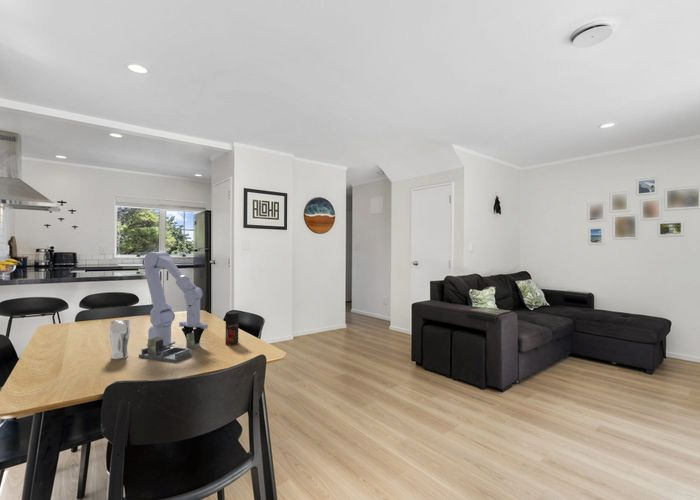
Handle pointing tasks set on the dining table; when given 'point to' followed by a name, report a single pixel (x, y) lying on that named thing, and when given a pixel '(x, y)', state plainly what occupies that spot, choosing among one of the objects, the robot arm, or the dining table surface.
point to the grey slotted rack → (164, 351)
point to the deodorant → (232, 328)
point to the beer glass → (119, 338)
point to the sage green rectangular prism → (191, 341)
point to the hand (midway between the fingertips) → (193, 342)
